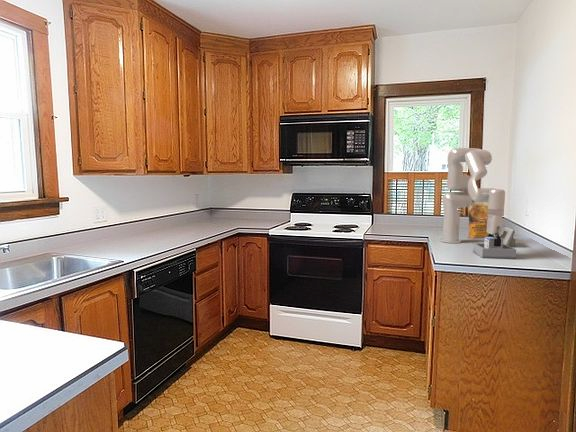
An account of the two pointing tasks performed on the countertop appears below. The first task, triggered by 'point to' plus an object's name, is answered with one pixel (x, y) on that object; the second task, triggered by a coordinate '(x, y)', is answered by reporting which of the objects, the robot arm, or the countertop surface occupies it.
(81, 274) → the countertop surface
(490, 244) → the medicine box
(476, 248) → the bin
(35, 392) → the countertop surface
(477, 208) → the pancake mix bag
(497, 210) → the robot arm
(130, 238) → the countertop surface
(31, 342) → the countertop surface
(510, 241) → the digital clock
